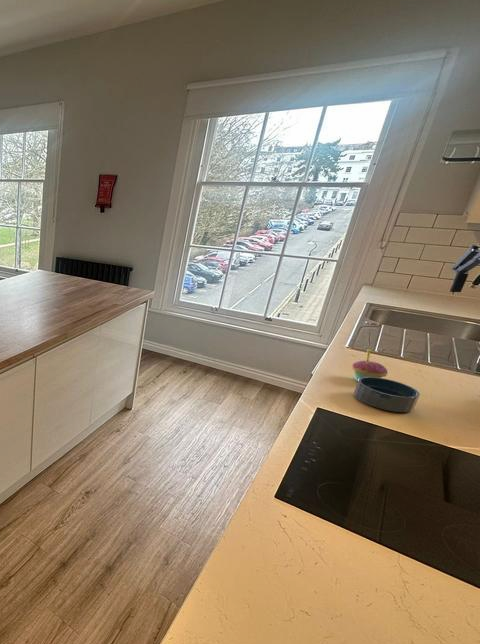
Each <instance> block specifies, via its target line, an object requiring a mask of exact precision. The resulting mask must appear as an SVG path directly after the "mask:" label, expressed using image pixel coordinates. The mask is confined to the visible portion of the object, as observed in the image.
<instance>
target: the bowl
mask: <svg viewBox="0 0 480 644" xmlns="http://www.w3.org/2000/svg"><path fill="white" fill-rule="evenodd" d="M420 395H421V394H420V392H419V391H418V390H417V389H416V388H414V387H413V386H410V385H408V384H405V383H404V382H403V383H402V382H399V381H397V380H394V379H393V380H392V379H388V378H385V377H381V378H378V377H362V378H359V380H358V381H357V382H356V386H355V388H354V391H353V396H354V398H355V399H357V400H358V401H360V402H362V403H364V404H366V405H367V406H370V407H373V408H375V409H379V410H384V411H388V412H395V413H409V412H410V413H411V412H412V411H414V409H415V407H416V405H417V402H418V400H419V398H420Z"/></svg>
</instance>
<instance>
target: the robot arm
mask: <svg viewBox="0 0 480 644" xmlns="http://www.w3.org/2000/svg"><path fill="white" fill-rule="evenodd" d="M479 265H480V244H471V245H470V246H469V248H468V250H467V251H466V252H465V253H464V254H463V255H462V256H461V257H460V258H459V259H458V260H457V261H456V262H455V263H454V264H453V265H452V267H451V271H454V272H455V275H454V277H453V278H452V285H451V286H450V287H451V288H450V289H449V292H450V293H461V292H462V291H463V288H464V286H465V284H466V281H467V279H468V277H469V274H470V272H469V271H472V270H473V269H474V268H476V267H477V266H479Z"/></svg>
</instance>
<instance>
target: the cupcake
mask: <svg viewBox="0 0 480 644" xmlns="http://www.w3.org/2000/svg"><path fill="white" fill-rule="evenodd" d="M370 354H371V349H370V347H369V346H368V347H367V350H366V359H365V360H358V361H355V362H354V363H353V364H352V365H351V366H352V370H353V371H354V377H355V378H354V379H355V380H356V381H357V382H358V380H359V378H362V377H378V378H385V377H387V376H388V369H387V368H386V366H384V365H383V364H382V363H379V362H375V361H372V360H370V357H371V355H370Z"/></svg>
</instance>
